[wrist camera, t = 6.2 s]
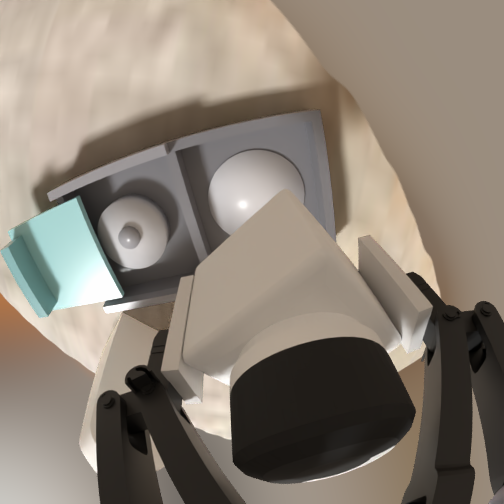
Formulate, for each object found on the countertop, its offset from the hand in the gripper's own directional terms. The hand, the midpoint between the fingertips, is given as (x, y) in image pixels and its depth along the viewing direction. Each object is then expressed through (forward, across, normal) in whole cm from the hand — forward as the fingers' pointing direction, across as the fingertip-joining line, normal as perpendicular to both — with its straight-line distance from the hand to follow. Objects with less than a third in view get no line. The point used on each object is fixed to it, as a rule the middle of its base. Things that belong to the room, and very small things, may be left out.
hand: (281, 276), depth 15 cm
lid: (+11, -24, 0) cm, 26 cm away
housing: (+15, -7, 0) cm, 17 cm away
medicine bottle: (+1, 0, 0) cm, 1 cm away
